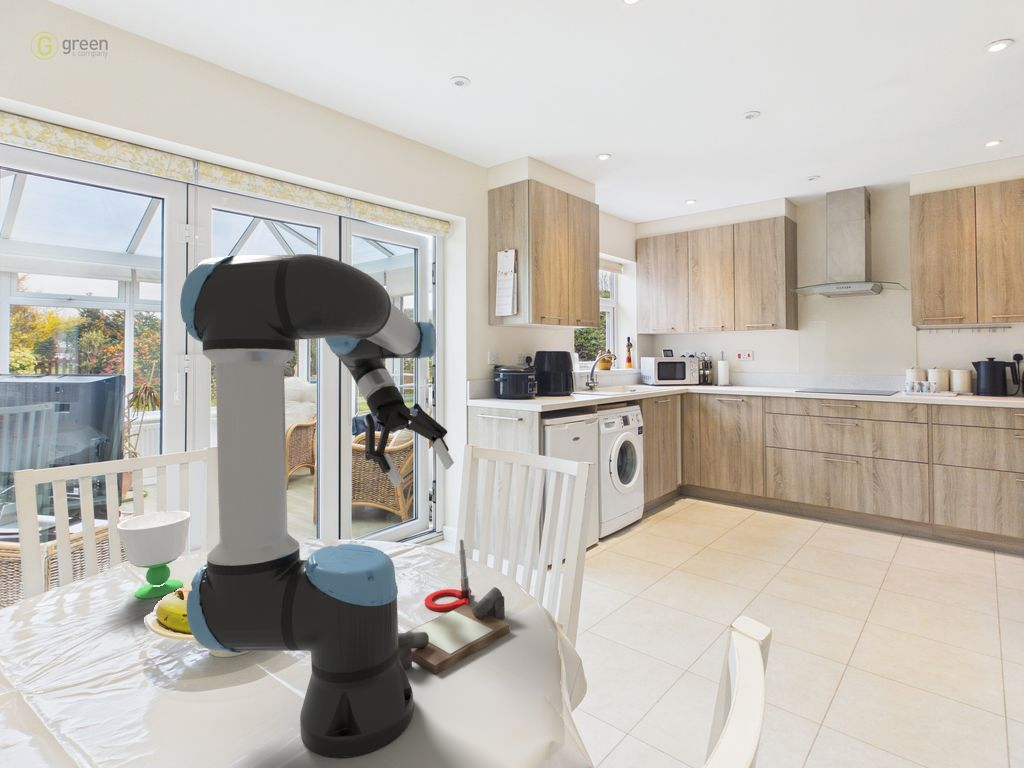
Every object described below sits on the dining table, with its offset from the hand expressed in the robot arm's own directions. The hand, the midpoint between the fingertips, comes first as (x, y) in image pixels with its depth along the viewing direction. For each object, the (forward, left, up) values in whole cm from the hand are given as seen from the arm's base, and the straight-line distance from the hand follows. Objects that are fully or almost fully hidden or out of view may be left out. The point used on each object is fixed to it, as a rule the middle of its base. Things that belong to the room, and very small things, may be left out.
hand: (425, 474), depth 113 cm
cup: (-39, +47, -25) cm, 66 cm away
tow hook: (-1, -7, -26) cm, 26 cm away
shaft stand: (-10, -19, -25) cm, 33 cm away
